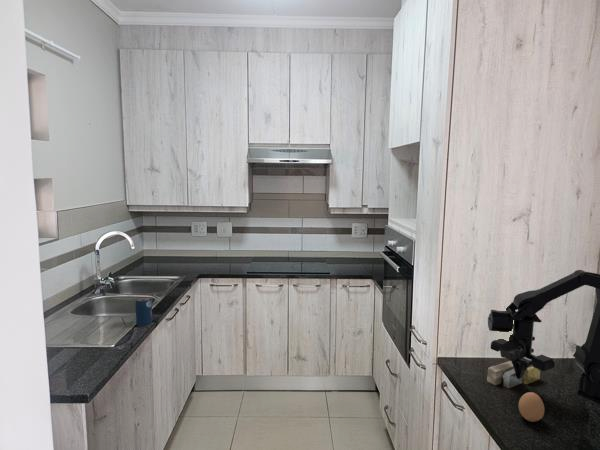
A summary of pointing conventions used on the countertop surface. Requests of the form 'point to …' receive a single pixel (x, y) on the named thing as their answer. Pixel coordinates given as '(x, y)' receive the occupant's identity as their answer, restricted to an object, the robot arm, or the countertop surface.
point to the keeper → (531, 375)
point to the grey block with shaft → (510, 379)
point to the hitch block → (498, 372)
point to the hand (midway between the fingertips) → (518, 378)
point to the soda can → (143, 311)
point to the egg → (531, 407)
